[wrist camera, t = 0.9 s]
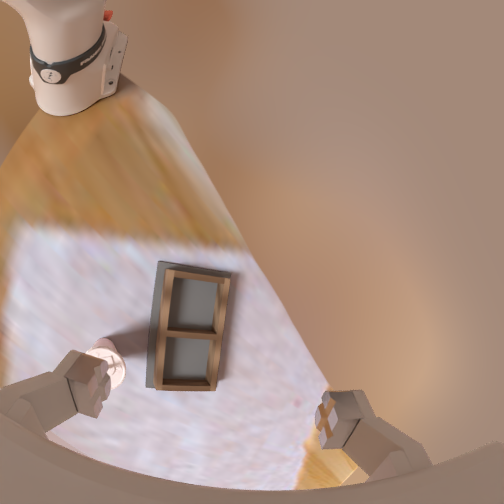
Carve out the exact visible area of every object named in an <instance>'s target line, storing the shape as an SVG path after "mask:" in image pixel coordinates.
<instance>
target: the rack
mask: <svg viewBox="0 0 504 504" xmlns="http://www.w3.org/2000/svg"><path fill="white" fill-rule="evenodd" d="M174 277H178V278H185V279H191V280H198V281H205V282H212V283H218V284H217V291H216V298H215V306H214V313H213V320H212V328H211V330H199V329H187V328H176V327H168V318H169V309H170V301H171V293H172V286H173V279H174ZM230 280H231V279H228V278H222V277H215V276H209V275H202V274H195V273H189V272H182V271H176V270H170V269H165V273H164V280H163V287H162V295H161V303H160V311H159V320H158V329H157V340H156V351H155V363H154V378H153V384H154V386H155V389H156V390H165V391H216V383H217V375H218V367H219V360H220V352H221V345H222V337H223V330H224V322H225V315H226V308H227V301H228V294H229V287H230ZM166 337H177V338H189V339H203V340H210V344H209V352H208V360H207V368H206V377H205V380H190V379H165V378H163V369H164V357H165V346H166Z"/></svg>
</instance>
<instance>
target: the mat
mask: <svg viewBox="0 0 504 504" xmlns="http://www.w3.org/2000/svg"><path fill="white" fill-rule="evenodd" d="M165 269H170V270H176V271H182V272H189V273H195V274H202V275H209V276H215V277H222V278H228V279H230V278H231V273H227V272H221V271H214V270H208V269H202V268H196V267H189V266H183V265H177V264H171V263H165V262H159V261H158V266H157V273H156V280H155V287H154V295H153V303H152V312H151V321H150V331H149V342H148V355H147V369H146V388H155V386H154V384H153V378H154V363H155V351H156V340H157V329H158V320H159V311H160V303H161V295H162V287H163V280H164V273H165ZM217 284H218V283H212V282H205V281H198V280H191V279H185V278H178V277H174V279H173V286H172V293H171V301H170V309H169V318H168V327H176V328H187V329H199V330H211V328H212V320H213V313H214V306H215V298H216V291H217ZM209 344H210V340H203V339H189V338H177V337H166V346H165V357H164V369H163V378H165V379H190V380H205V377H206V368H207V360H208V352H209Z"/></svg>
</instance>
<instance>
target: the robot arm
mask: <svg viewBox="0 0 504 504" xmlns="http://www.w3.org/2000/svg"><path fill="white" fill-rule="evenodd" d="M1 1H3V2H5V3H7V4H9V5H10V6H11V7H13V8H14V9H15V10H16V11H17V12H19V14H20V15H21V16H22V18H23V19H24V21H25V24H26V27H27V30H28V33H29V37H30V41H31V46H30V58H31V59H30V63H31V72H32V74H31V76H30V78H29V80H30V84H31V86H32V87H33V88H34V90H35V95H36V100H37V103H38V105H39V106H40V108H41V109H42V110H43V111H45V112H46V113H49V114H51V115H56V116H66V115H71V114H75V113H78V112H80V111H82V110H84V109H86V108H88V107H89V106H91V105H92V104H93V103H95V102H96V101H97V100H99V99H101V98H105V97H108V96H110V95H112V94H114V93H115V92H116V89H117V84H118V79H119V74H120V70H121V66H122V61H123V58H124V53H125V50H126V46H127V42H128V37H127V36H126V35H125V34H124V33H122V32H120V31H119V28H118V26H117V25H116V24H114V23H112V22H110V21H109V20H110V19H111V17H112V14H113V11H105V4H106V0H1ZM110 83H112V85H110ZM108 369H109V367H108V362H107V361H106V360H104V359H100V358H97V357H94V356H91V355H88V354H85V353H81V352H78V351H76V350H71V351H70V352H69V353H68V354H67V355H66V356H65V358H64V359H63V360H62V361H61V362H60V364H59V365H58V366H57V367H56V369H55V370H54V371H53V372H46V373H43V374H40V375H38V376H35V377H32V378H29V379H26V380H23V381H20V382H17V383H14V384H11V385H8V386H5V387H3V388H2V389H1V391H0V504H504V444H503V443H501V442H498V441H493V442H490V443H488V444H486V445H483V446H481V447H479V448H477V449H475V450H472V451H470V452H468V453H465V454H463V455H460V456H458V457H456V458H453V459H450V460H447V461H445V462H442V463H439V464H436V465H432V463H431V461H430V459H429V457H428V455H427V453H426V451H425V449H424V448H423V446H422V444H420V443H419V442H417V441H415V440H414V439H412V438H411V437H409V436H408V435H406V434H404V433H403V432H401V431H400V430H398V429H397V428H395V427H394V426H392V425H391V424H389V423H388V422H386V421H384V420H383V419H382V418H380V417H376V416H375V414H374V412H373V409H372V407H371V405H370V403H369V401H368V399H367V397H366V395H365V393H364V391H362V390H350V391H325V392H324V393H323V396H322V401H323V403H322V404H320V405H319V406H318V407H317V410H316V414H315V425H316V428H317V429H318V430H319V431H320V432H321V433H320V435H319V436H318V437H319V441H320V445H321V449H341V448H343V449H342V450H343V451H344V452H345V453H346V454H347V455H348V456H349V457H350V458H351V459H352V460H353V461H354V462H355V463H356V464H357V465H358V466H359V467H361V469H363V470H364V471H365V472H366V473H367V474H368V475H369V476H370V477H369V478H368V480H367V481H366V482H365V483H360V484H353V485H347V486H339V487H330V488H320V489H307V490H281V491H266V490H240V489H227V488H217V487H208V486H201V485H194V484H187V483H182V482H176V481H171V480H166V479H161V478H157V477H152V476H148V475H144V474H140V473H137V472H133V471H129V470H126V469H123V468H119V467H116V466H113V465H110V464H107V463H104V462H101V461H98V460H95V459H93V458H90V457H87V456H85V455H82V454H80V453H77V452H75V451H72V450H70V449H68V448H65V447H63V446H61V445H58V444H56V443H54V442H52V441H50V440H49V439H48V437H47V435H46V432H47V431H49V430H51V429H52V428H54V427H56V426H57V425H59V424H61V423H63V422H64V421H66V420H67V419H69V418H71V417H72V416H74V415H76V414H77V412H78V413H81V414H84V415H87V416H90V417H93V418H97V417H98V415H99V413H100V412H101V410H102V408H103V406H102V401H104V400H106V399H107V398H108V396H109V394H110V390H111V378H110V376H109V375H108V374H107V371H108Z"/></svg>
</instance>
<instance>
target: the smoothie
mask: <svg viewBox="0 0 504 504" xmlns="http://www.w3.org/2000/svg"><path fill="white" fill-rule="evenodd" d="M85 354H88V355H91V356H94V357H97V358H100V359H104V360H106V361H107V362H108V367H109V369H108V371H107V374H108V375H109V376H110V378H111V389H114V388H116V387H118V386H119V385H120V384H121V383H122V382H123V381H124V378H125V375H126V366H125V362H124V360H123V358H122V356H121V355H120V354H119V353H118V352H117V350H116V348H115V346H114V344H113V342H112V341H110V340H109V339H107V338H101V339H98V340H97V341H96V342H95V344H94V345H93V347H92V348H91V349H89V350H88V351H87V352H86V353H85Z"/></svg>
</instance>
